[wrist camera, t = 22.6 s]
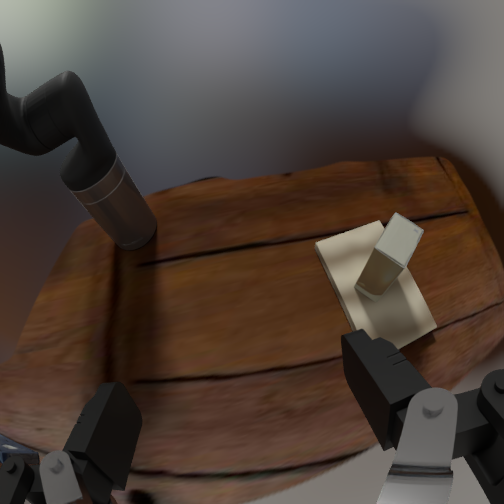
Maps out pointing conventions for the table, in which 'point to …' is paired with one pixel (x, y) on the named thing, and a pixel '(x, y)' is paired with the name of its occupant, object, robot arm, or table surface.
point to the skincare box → (389, 257)
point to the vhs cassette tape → (16, 451)
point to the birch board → (363, 308)
